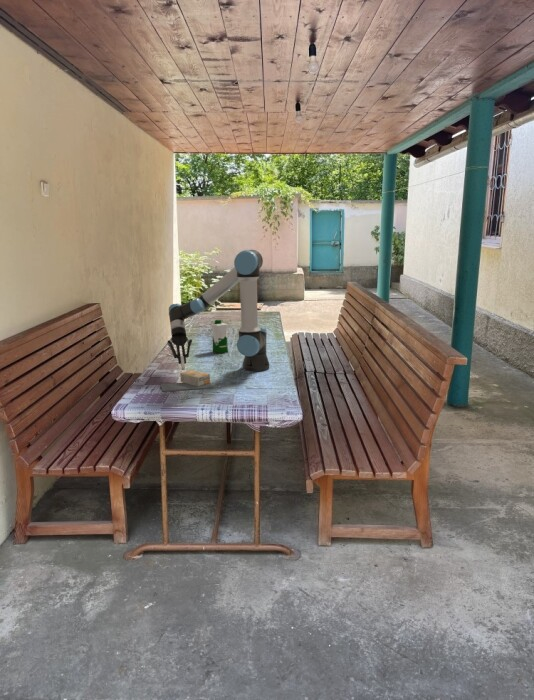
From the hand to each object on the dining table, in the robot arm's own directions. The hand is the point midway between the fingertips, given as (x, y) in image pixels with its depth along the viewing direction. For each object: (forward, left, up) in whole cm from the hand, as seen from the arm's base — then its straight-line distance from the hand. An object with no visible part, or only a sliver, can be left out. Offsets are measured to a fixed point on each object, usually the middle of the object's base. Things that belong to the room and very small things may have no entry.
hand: (183, 368), depth 265 cm
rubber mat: (0, +10, -7) cm, 12 cm away
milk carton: (-31, -61, -7) cm, 69 cm away
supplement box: (-1, +1, -3) cm, 4 cm away
